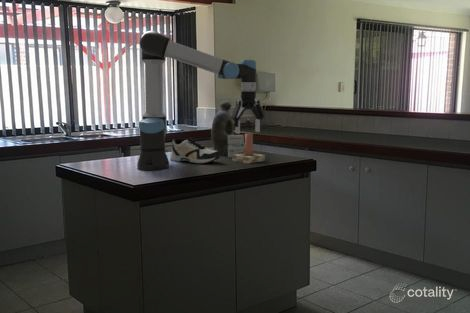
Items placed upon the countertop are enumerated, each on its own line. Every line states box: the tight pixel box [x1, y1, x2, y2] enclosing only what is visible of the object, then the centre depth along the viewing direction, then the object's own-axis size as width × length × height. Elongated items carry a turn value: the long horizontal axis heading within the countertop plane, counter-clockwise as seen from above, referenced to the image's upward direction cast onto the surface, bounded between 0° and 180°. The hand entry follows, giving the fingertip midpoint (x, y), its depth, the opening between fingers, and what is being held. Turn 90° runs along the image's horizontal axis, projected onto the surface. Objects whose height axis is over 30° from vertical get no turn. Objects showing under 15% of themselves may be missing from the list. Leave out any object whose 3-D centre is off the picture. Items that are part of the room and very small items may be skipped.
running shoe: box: [169, 137, 221, 165], centre depth 246 cm, size 11×30×12 cm, turn 62°
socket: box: [231, 152, 266, 164], centre depth 247 cm, size 12×12×3 cm
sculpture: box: [210, 100, 235, 156], centre depth 271 cm, size 11×14×30 cm
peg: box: [244, 133, 254, 156], centre depth 246 cm, size 4×4×14 cm
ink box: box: [227, 134, 245, 158], centre depth 261 cm, size 9×5×12 cm, turn 84°
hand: (247, 132), depth 245 cm, fingers open, 13 cm apart
